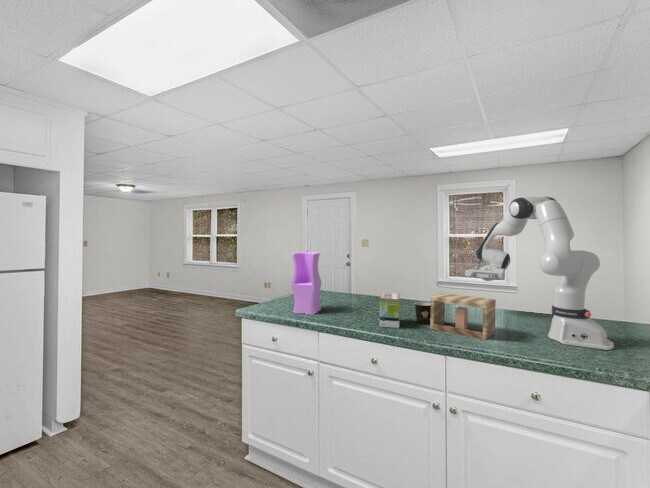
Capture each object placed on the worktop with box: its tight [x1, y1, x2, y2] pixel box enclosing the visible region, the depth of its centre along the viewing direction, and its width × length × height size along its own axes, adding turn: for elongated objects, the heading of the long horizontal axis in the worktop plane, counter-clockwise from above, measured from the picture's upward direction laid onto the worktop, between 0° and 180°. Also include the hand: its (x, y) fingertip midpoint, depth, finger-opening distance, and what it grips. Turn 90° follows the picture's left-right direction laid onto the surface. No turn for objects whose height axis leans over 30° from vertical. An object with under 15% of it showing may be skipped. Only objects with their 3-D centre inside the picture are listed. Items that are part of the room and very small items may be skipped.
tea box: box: [379, 292, 401, 329], centre depth 171 cm, size 15×10×15 cm
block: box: [454, 306, 469, 330], centre depth 158 cm, size 4×5×11 cm
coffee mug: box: [414, 301, 431, 325], centre depth 172 cm, size 12×9×10 cm
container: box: [291, 251, 322, 315], centre depth 197 cm, size 14×14×35 cm
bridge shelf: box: [430, 292, 497, 340], centre depth 159 cm, size 26×14×16 cm, turn 49°
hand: (480, 275), depth 179 cm, fingers open, 8 cm apart
